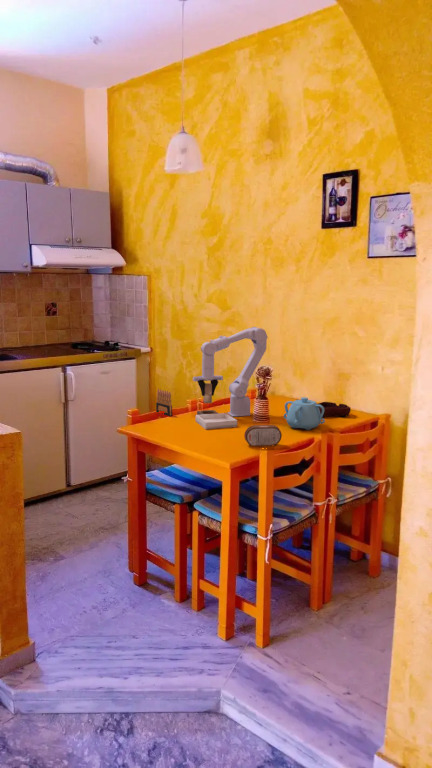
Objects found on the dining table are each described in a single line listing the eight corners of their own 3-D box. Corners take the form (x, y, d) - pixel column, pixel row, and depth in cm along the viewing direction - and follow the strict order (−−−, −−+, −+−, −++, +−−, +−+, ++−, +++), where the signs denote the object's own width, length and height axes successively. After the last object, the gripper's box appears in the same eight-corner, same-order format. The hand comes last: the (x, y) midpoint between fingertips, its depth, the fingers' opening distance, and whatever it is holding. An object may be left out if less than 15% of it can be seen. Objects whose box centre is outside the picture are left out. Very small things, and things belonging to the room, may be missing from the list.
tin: (280, 443, 239) (280, 423, 238) (282, 446, 236) (282, 425, 235) (244, 445, 237) (244, 425, 235) (245, 447, 234) (246, 427, 232)
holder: (213, 413, 289) (213, 409, 289) (219, 417, 281) (219, 413, 281) (196, 414, 286) (196, 410, 286) (202, 419, 279) (202, 414, 278)
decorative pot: (281, 423, 273) (282, 394, 270) (314, 421, 275) (315, 393, 273) (291, 432, 257) (292, 402, 254) (326, 431, 260) (327, 401, 257)
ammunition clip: (172, 415, 285) (172, 391, 282) (169, 416, 283) (169, 392, 281) (158, 411, 292) (158, 388, 290) (156, 412, 291) (155, 388, 289)
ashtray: (341, 410, 300) (341, 401, 299) (352, 418, 284) (353, 408, 283) (307, 411, 297) (307, 401, 297) (316, 419, 282) (317, 408, 281)
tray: (225, 419, 279) (225, 412, 278) (237, 426, 265) (237, 420, 264) (195, 421, 274) (195, 415, 274) (205, 429, 260) (205, 422, 260)
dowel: (210, 401, 285) (210, 383, 283) (212, 403, 281) (213, 384, 279) (202, 401, 284) (202, 383, 282) (204, 403, 280) (205, 385, 278)
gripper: (219, 365, 285) (219, 393, 288) (191, 366, 281) (190, 394, 283) (224, 367, 279) (224, 395, 281) (195, 369, 274) (195, 397, 277)
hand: (207, 395), depth 282 cm, fingers closed on dowel, 4 cm apart
